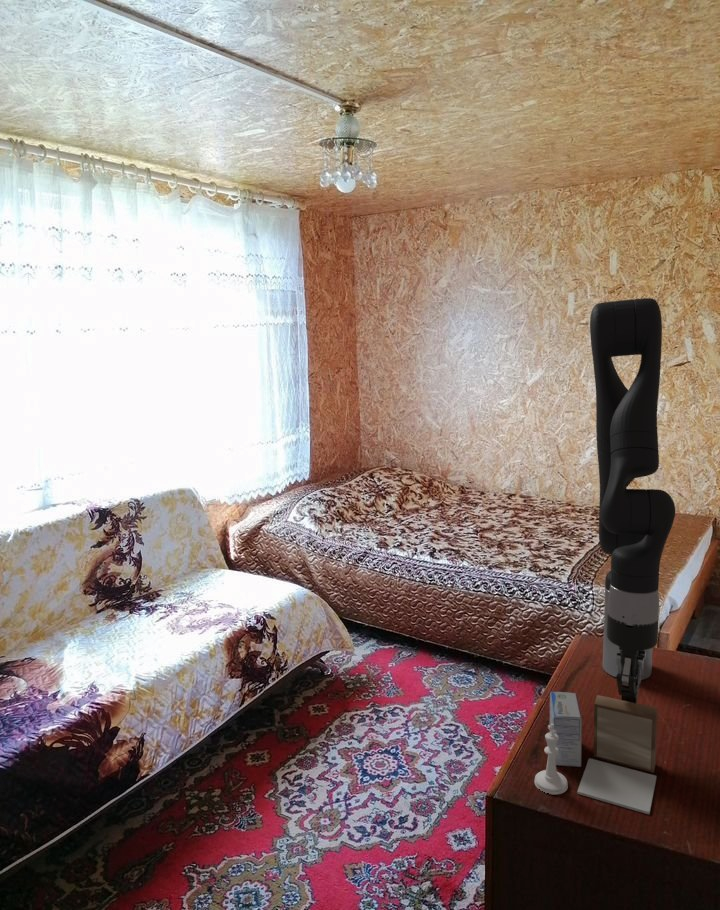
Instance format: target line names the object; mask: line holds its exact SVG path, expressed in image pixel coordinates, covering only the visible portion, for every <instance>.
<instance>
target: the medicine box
mask: <svg viewBox="0 0 720 910" xmlns="http://www.w3.org/2000/svg"><path fill="white" fill-rule="evenodd" d="M581 715H582V714H581V710H580V705H579V701H578V695H577V693H575V692H566V691H565V692H564V691H550V693H549V725H550V724H552V723H553V724H554V729H555V730H556V731H557V732H556V734H557V735H558V736H559V740H558V742H557V744H556V748H557V749H558V750H559V754H558V755H555V762H556V766H562V767H577V768H580V767H582V726H583V725H582V723H583V720H582V716H581ZM548 730H549V729H548ZM548 732H550V730H549V731H548Z"/></svg>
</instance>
